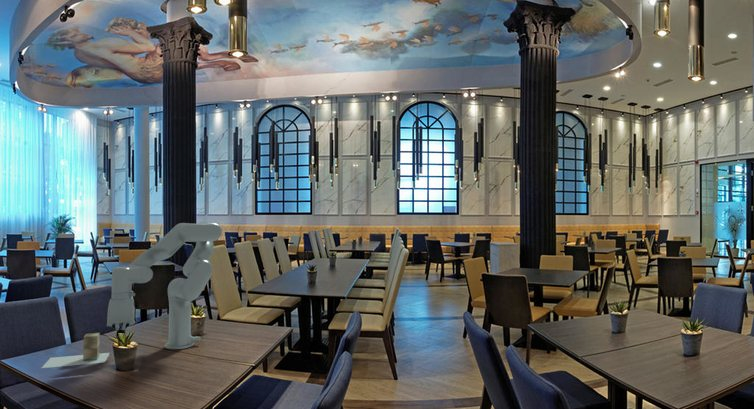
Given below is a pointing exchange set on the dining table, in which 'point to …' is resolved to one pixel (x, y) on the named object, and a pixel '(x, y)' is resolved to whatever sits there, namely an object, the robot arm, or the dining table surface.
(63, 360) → the grey mat
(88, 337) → the oak block
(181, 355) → the dining table surface
